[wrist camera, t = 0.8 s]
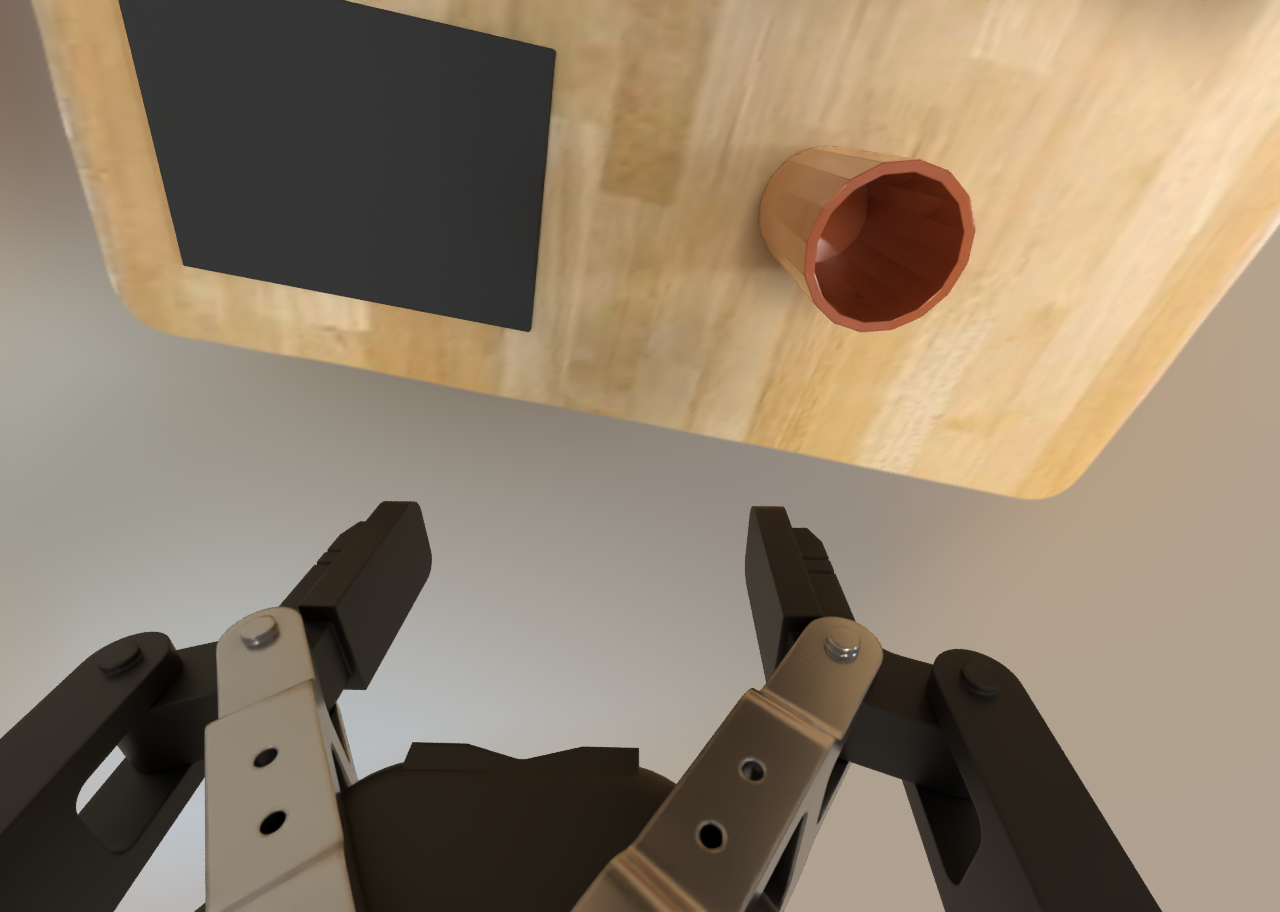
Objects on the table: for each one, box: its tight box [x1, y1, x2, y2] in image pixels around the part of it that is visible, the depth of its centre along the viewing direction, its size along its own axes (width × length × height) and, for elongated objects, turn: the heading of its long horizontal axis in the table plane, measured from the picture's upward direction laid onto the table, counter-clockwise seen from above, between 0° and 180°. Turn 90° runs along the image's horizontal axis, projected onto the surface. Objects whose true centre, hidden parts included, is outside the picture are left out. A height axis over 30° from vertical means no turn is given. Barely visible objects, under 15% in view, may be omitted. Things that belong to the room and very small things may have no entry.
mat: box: [119, 0, 556, 332], centre depth 29 cm, size 20×14×1 cm
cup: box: [759, 146, 975, 332], centre depth 25 cm, size 6×6×11 cm
